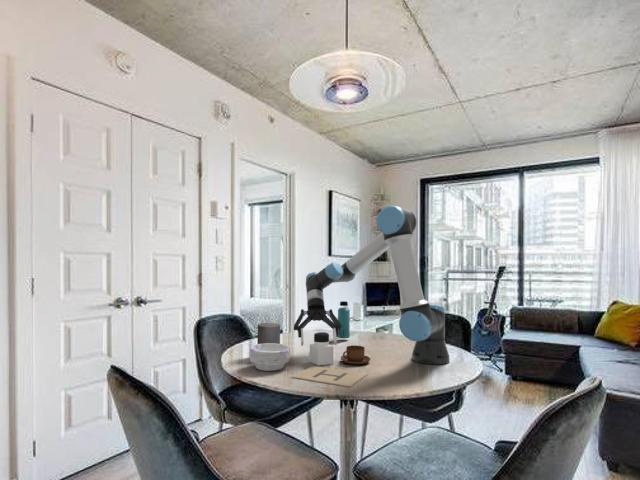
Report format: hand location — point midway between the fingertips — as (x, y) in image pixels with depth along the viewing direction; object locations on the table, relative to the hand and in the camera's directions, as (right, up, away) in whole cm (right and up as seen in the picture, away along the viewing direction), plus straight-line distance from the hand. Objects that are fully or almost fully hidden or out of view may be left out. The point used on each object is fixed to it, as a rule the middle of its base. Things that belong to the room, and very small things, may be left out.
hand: (319, 343), depth 160 cm
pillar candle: (-21, -8, +7) cm, 24 cm away
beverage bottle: (+13, -10, +44) cm, 46 cm away
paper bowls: (-19, -7, -10) cm, 22 cm away
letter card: (+4, -6, -20) cm, 22 cm away
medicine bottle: (+1, -7, -2) cm, 8 cm away
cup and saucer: (+15, -8, -1) cm, 17 cm away
